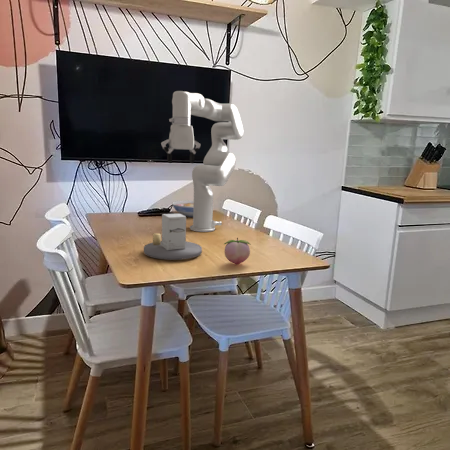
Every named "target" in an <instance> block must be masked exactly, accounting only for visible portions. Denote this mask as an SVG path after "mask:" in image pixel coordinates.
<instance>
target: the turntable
mask: <svg viewBox="0 0 450 450" xmlns="http://www.w3.org/2000/svg"><path fill="white" fill-rule="evenodd" d="M202 250H203V247H202V246H201V245H200V244H197V243H195V242H192V241H187V240H186V245H185V249H172V250H167V249H165V248H164V247H163V246H162V233H159V232H158V233H153V234H152V242H150V243H147V244H145V245H144V246H143V254H144V255H146V257H147V256H148V257H150V258H154V259H158V260H166V261H167V260H172V261H173V260H174V261H175V260H176V261H177V260H187V259H192V258H193V259H194V258H196V257H199V256H200V255H202V252H203V251H202Z"/></svg>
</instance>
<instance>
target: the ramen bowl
mask: <svg viewBox="0 0 450 450" xmlns="http://www.w3.org/2000/svg"><path fill="white" fill-rule="evenodd" d="M171 205H172V207H173V208H174V210H175V212H177V213H178V214H182V215H184V216H187V217H186V218H193V206H194V200H177V201H173V202H171Z"/></svg>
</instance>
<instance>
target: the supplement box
mask: <svg viewBox="0 0 450 450" xmlns="http://www.w3.org/2000/svg"><path fill="white" fill-rule="evenodd" d="M186 236H187V217H186V216H185V215H183V214H180V213H162V214H161V241H162V246H163V247H164V248H165V249H167V250H172V249H185V245H186V241H187V240H186V238H187V237H186Z"/></svg>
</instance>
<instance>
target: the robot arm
mask: <svg viewBox="0 0 450 450" xmlns="http://www.w3.org/2000/svg"><path fill="white" fill-rule="evenodd" d="M171 104H172V117H171V118H169V119H168V120H169V122H170V123H171V125H170V130H169V137H168V139H166V140H164V141H161V142H160V144H161V147H162V150H164V151H165V152H166V154H167V158H166V159H167V163H169V164H172V163H173V154H172V152H173V151H174V150H189V152H190V154H189V163H190V164H195V163H194V162H195V160H196V159H195V155H196V153H197V152H198V151H199V150H200V148H201V143H199V142H198V141H197V140H195V136H194V128H193V125H191V121H192V120H191V118H192V117H191V116H194V117H200V118H205V119H208V120H210V121H214V122H215V123H214V124H213V125H212V127H211V129H210V130H211V132H210V133H211V134H210V135H211V146H210V148H209V150H208V151H207V152H206V155H205V156H204V158H203V163H202V164H198V165H196V166H194V167H193V169H192V170H191V178H192V183H193V201H194V206H193V217H192V218H193V219H192V225H190V226H189V229H190V230H191V231H194V232H201V233H207V232H208V233H209V232H214V231H215V230H216V226H222V221H217V220H214V219H213V217H214V216H213V214H214V213H213V211H214V193H213V189H212V188H211V186H212V187H213V186H215V187H223V186H225V185H226V184H227V182H228V181H229V179H230V177H231V175H232V174H233V171H234V170H235V167H236V160H237V159H236V156H235V154H234V153H233V152H231V151H228V150H229V149H228V146H227V144H226V143H225V142H224V140H234V141H236V140H237V141H238V140H240V139H242V138H243V136H244V133H245V132H244V130H245V129H244V126H243V122H242V118H241V114H240V113H239V109H238V107H237V106H236V105H235V104H234V103H220V102H216V101H214V100H212V99H210V98H205V97H204V96H203V94H201V93H198V92H189V91H185V90H184V91H183V90H176V91H174V92H173V93H172V99H171ZM167 144H168V147H167V146H166V145H167Z"/></svg>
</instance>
